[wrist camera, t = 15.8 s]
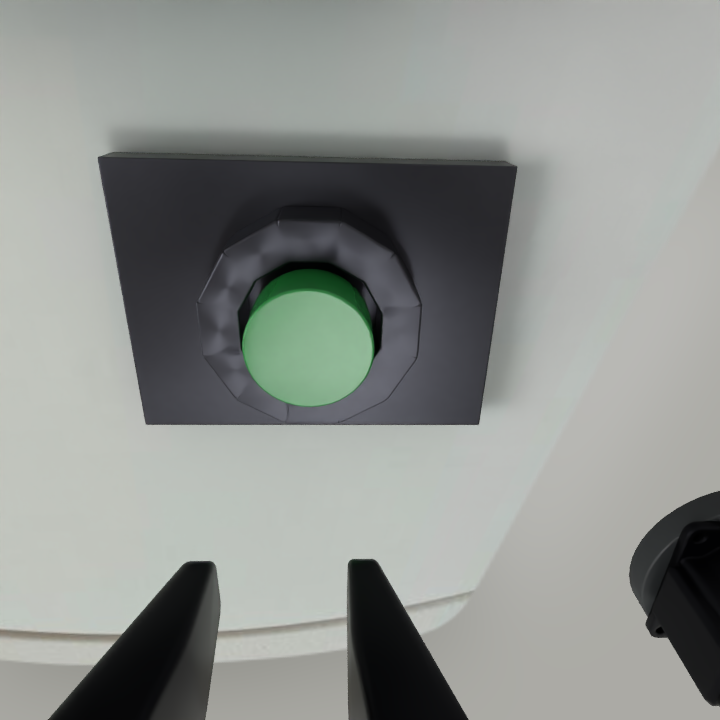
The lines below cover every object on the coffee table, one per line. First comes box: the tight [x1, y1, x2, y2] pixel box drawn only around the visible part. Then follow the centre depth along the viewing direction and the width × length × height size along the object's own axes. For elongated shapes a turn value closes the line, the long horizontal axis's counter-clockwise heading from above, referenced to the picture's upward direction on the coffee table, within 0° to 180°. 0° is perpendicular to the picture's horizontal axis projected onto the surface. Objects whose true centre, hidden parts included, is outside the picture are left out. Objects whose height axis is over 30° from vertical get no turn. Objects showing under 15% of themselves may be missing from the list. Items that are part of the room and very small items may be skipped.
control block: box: [98, 152, 517, 425], centre depth 17 cm, size 12×9×3 cm
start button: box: [242, 269, 375, 407], centre depth 16 cm, size 4×4×2 cm
